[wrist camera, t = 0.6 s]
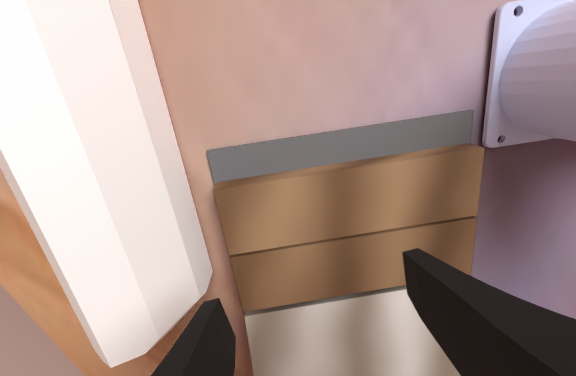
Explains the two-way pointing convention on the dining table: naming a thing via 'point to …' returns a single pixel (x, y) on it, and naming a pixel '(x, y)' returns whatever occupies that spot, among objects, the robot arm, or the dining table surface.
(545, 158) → the dining table surface
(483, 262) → the dining table surface
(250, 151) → the underlay mat
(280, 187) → the walnut boards
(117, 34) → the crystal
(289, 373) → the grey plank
